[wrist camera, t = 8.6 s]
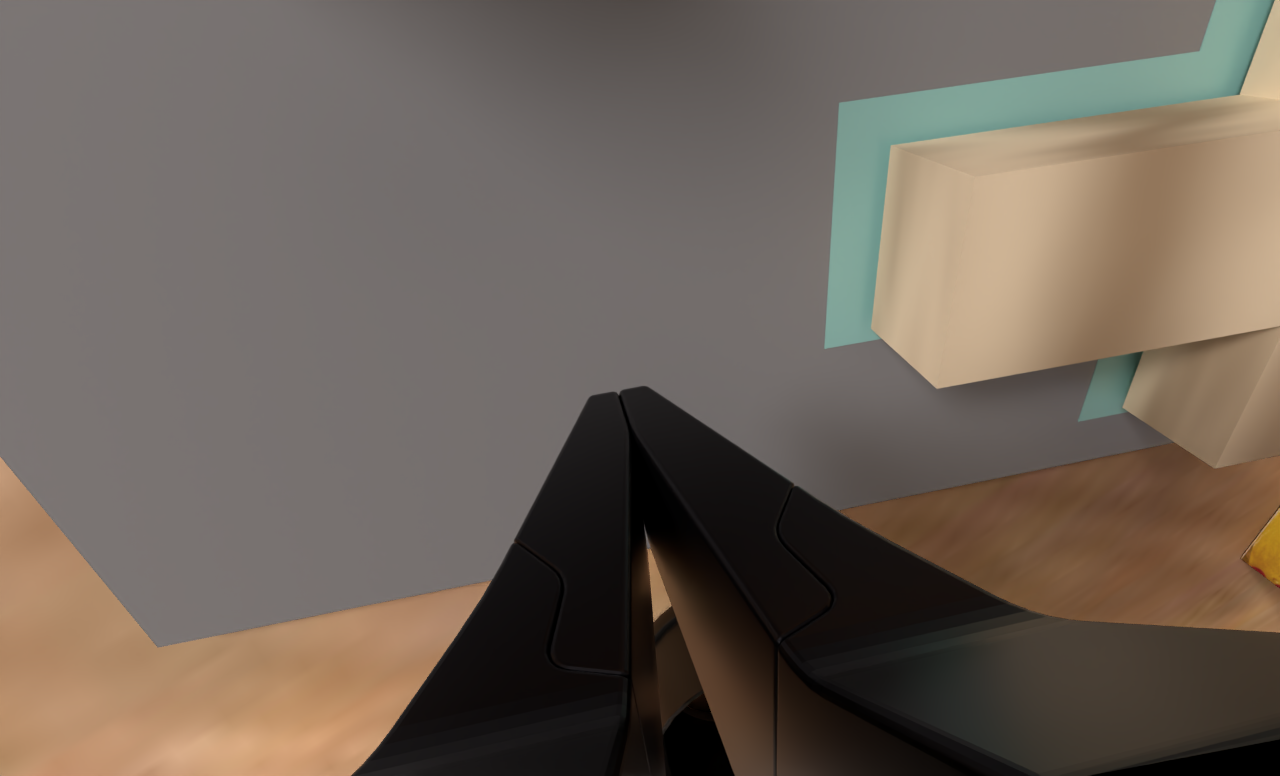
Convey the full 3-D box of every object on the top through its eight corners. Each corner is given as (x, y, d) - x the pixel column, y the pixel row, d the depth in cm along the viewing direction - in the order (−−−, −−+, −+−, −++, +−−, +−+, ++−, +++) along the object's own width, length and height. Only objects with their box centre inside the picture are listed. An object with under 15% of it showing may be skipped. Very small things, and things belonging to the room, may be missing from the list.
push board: (1618, -344, 12) (1700, -370, 12) (1246, 406, 22) (1276, 422, 21) (-429, -162, 9) (-526, -178, 8) (173, 618, 19) (157, 648, 18)
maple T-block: (1506, -162, 13) (1779, -209, 10) (1244, 377, 20) (1364, 438, 17) (908, -96, 12) (1030, -128, 9) (852, 452, 19) (911, 530, 16)
